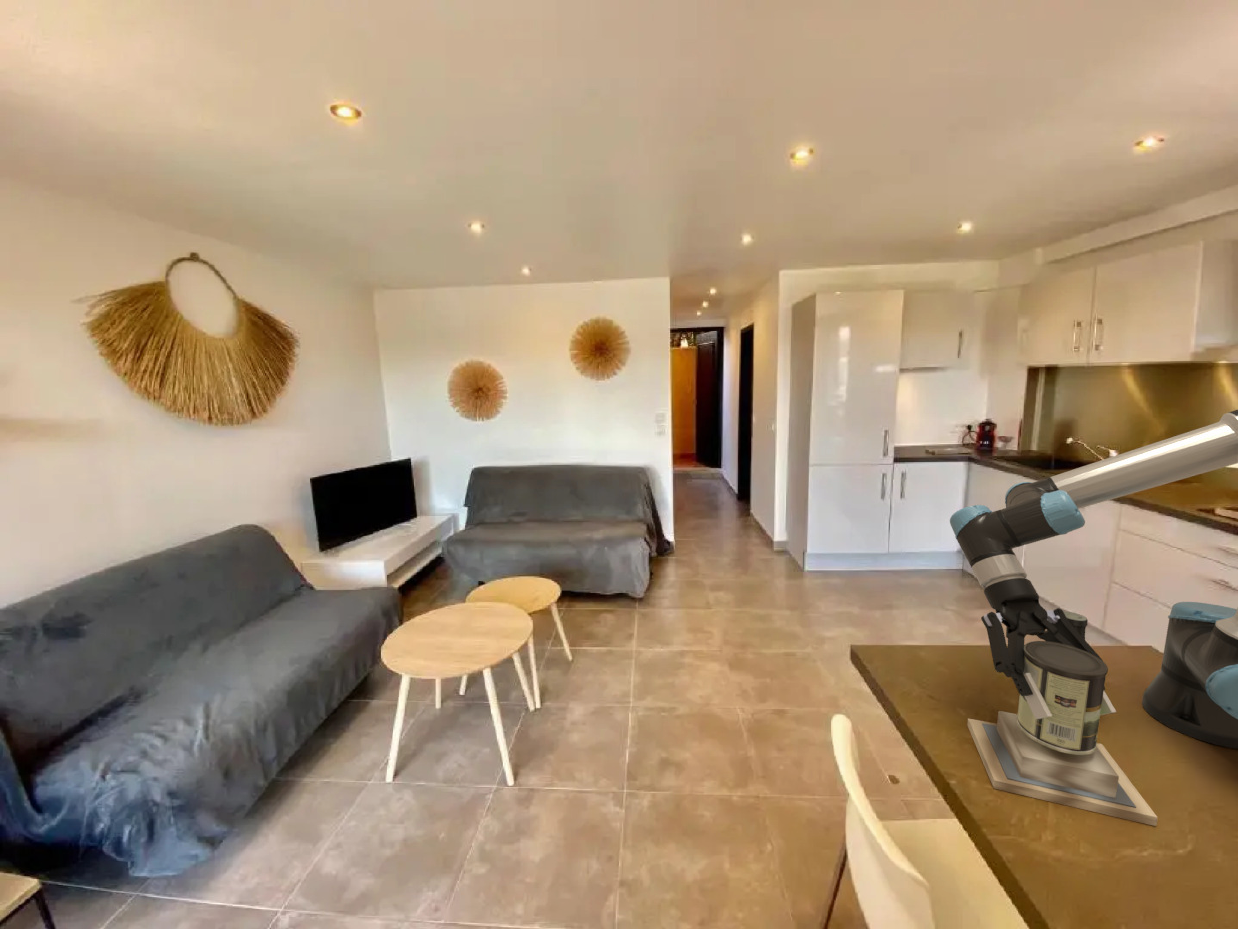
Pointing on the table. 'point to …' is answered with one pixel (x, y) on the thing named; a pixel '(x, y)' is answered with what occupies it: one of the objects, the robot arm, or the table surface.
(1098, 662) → the coffee can
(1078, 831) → the table surface
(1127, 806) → the plate
